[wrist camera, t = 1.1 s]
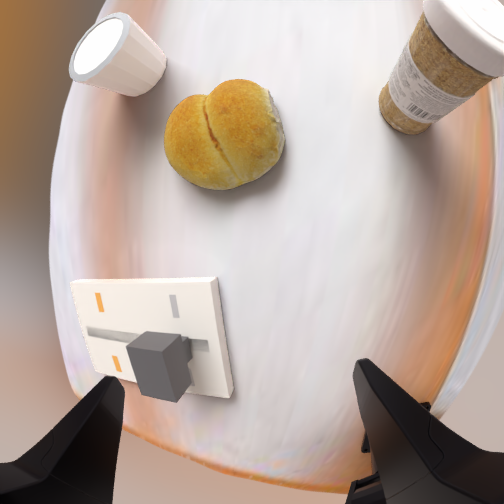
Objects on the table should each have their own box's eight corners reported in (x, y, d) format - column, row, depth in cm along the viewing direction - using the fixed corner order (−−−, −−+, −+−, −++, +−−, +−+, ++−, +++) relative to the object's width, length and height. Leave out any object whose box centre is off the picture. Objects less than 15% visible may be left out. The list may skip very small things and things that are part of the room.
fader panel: (234, 388, 23) (229, 398, 22) (103, 365, 27) (95, 371, 26) (217, 276, 22) (210, 282, 20) (79, 279, 26) (69, 282, 24)
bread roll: (168, 115, 21) (142, 102, 17) (267, 78, 18) (255, 54, 14) (187, 204, 22) (161, 205, 18) (296, 173, 19) (291, 165, 15)
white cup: (118, 114, 22) (66, 97, 15) (114, 64, 21) (70, 42, 14) (177, 82, 20) (131, 49, 13) (168, 33, 19) (129, -2, 12)
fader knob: (201, 369, 21) (176, 402, 17) (169, 365, 22) (141, 394, 18) (192, 323, 21) (161, 351, 16) (158, 321, 22) (125, 346, 17)
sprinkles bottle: (435, 101, 15) (526, 19, 2) (421, 147, 16) (533, 85, 3) (385, 73, 16) (436, -43, 3) (368, 117, 17) (428, 5, 4)
